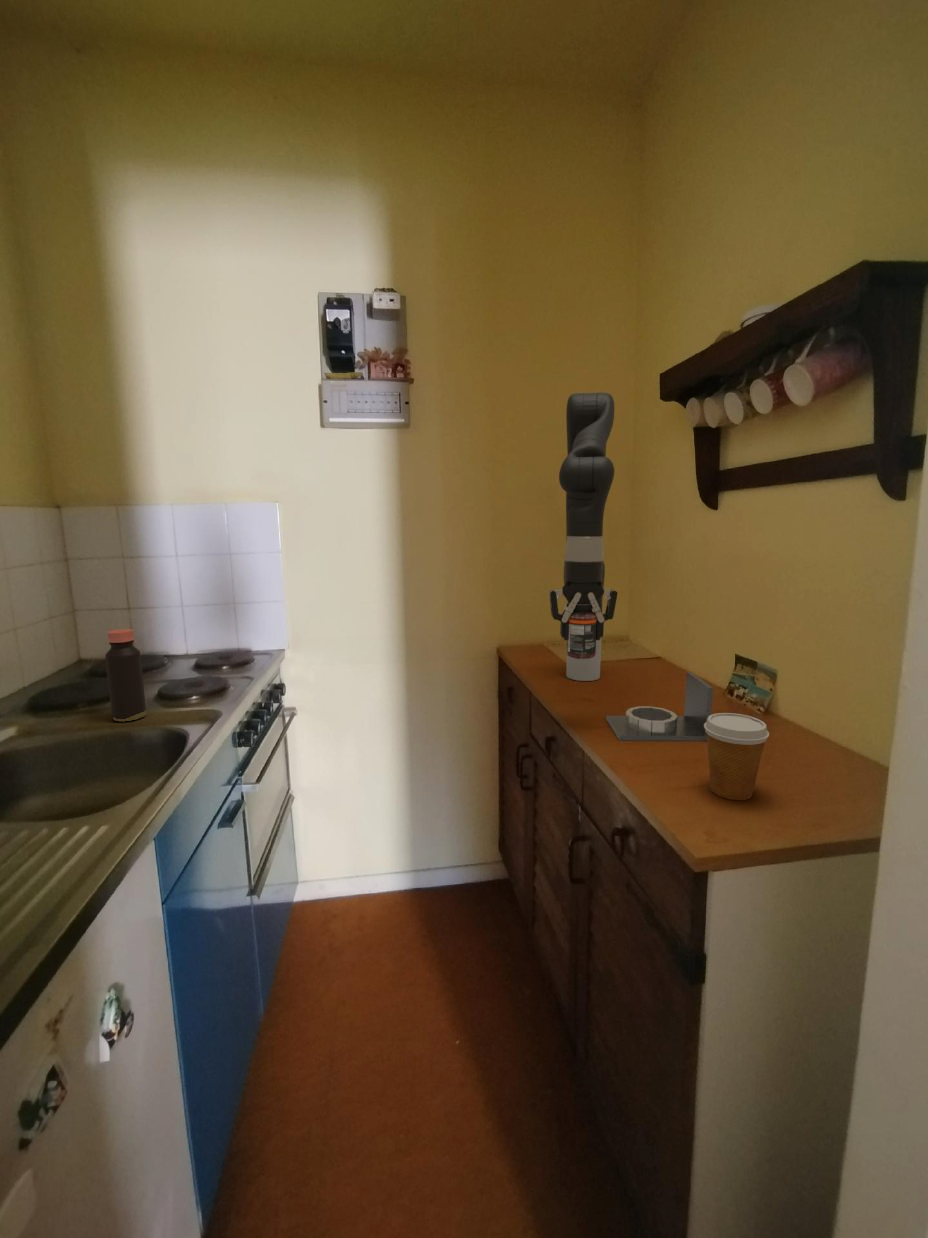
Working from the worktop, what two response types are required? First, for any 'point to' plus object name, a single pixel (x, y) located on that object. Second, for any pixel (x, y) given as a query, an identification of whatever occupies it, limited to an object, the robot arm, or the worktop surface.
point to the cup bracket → (668, 717)
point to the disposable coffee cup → (734, 753)
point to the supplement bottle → (582, 632)
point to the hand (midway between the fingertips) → (581, 639)
